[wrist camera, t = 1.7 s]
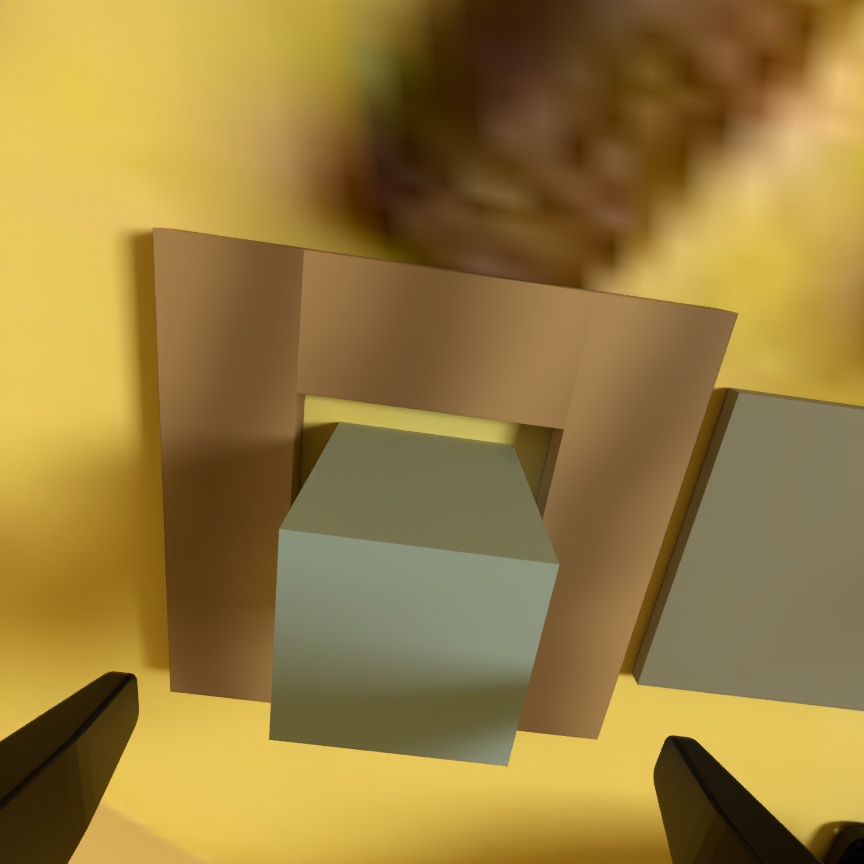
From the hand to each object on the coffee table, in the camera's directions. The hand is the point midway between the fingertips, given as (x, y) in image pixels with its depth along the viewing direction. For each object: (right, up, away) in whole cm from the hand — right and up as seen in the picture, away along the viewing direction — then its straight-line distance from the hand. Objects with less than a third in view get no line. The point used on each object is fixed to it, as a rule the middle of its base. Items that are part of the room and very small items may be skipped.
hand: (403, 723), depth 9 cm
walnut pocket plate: (0, +3, +7) cm, 7 cm away
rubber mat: (+13, +1, +7) cm, 15 cm away
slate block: (0, +3, +7) cm, 7 cm away
